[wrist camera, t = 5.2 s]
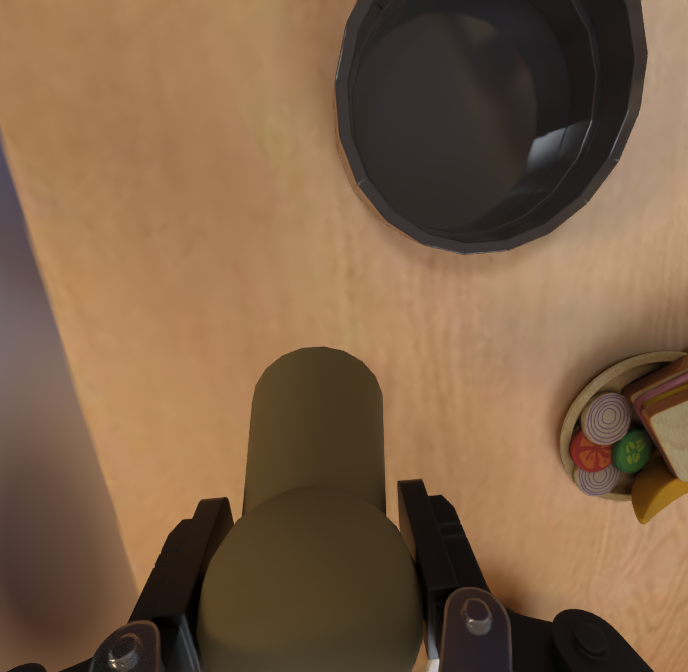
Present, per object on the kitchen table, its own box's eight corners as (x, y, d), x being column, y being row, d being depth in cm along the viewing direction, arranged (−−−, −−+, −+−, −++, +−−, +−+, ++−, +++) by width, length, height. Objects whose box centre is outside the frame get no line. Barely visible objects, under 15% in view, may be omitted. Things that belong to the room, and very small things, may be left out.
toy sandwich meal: (528, 395, 29) (565, 431, 24) (711, 307, 27) (788, 328, 22) (580, 513, 32) (621, 563, 28) (744, 442, 31) (815, 483, 26)
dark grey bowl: (344, 253, 25) (348, 265, 20) (323, -23, 20) (321, -93, 16) (566, 234, 25) (622, 241, 20) (593, -45, 20) (673, -120, 16)
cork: (310, 318, 17) (288, 513, 6) (410, 400, 18) (525, 668, 8) (225, 414, 18) (89, 708, 8) (324, 483, 19) (326, 808, 9)
